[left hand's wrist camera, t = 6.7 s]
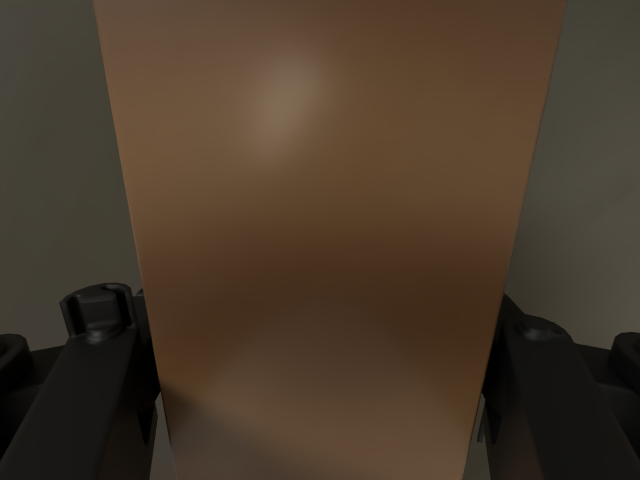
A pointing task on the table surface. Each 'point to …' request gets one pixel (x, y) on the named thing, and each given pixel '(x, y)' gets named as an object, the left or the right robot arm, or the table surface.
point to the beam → (325, 220)
